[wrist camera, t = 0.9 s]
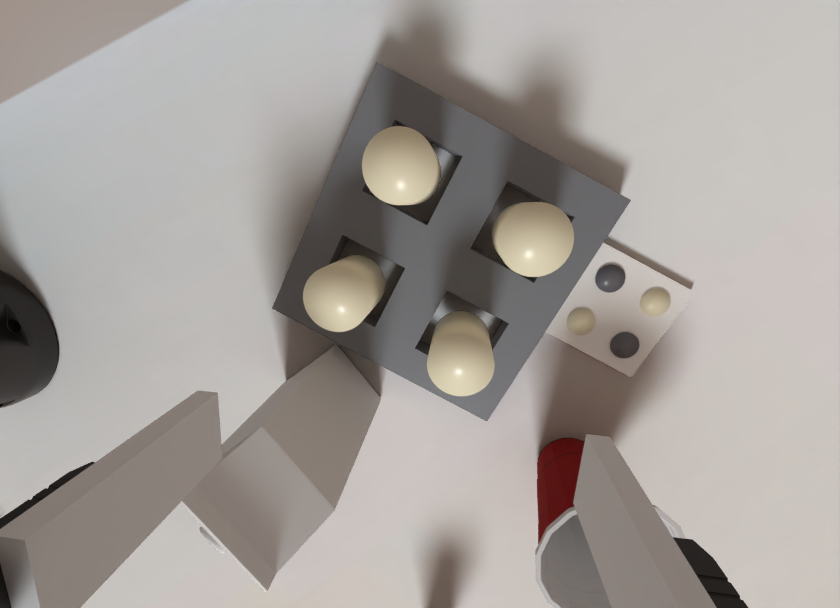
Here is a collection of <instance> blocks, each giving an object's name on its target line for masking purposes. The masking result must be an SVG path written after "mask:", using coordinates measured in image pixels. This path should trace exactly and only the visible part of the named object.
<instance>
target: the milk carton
mask: <svg viewBox="0 0 840 608" xmlns="http://www.w3.org/2000/svg"><path fill="white" fill-rule="evenodd" d="M380 400H381V398H380V397H379V395H378V394H377V393H376V392H375V390H374V389H373V388H372V387H371V386H370V384H369V383H368V382H367V381H366V379H365V378H364V377H363V376H362V375H361V373H360V372H359V371H358V370H357V368H356V367H355V366H354V365H353V364H352V362H351V361H350V360H349V359H348V357H347V356H346V355H345V354H344V353H343V351H342V350H341V349H340V348H339V347H338V346H337V345H335V346H333V347H332V348H331V349H329V350H328V351H326V352H325V353H324V354H322V355H321V356H320V357H318V358H317V359H316V360H314V361H313V362H312V363H310V364H309V365H307V366H306V367H305V368H303V369H302V370H301V371H299V372H298V373H297V374H295V375H294V376H293V377H291V378H290V379H288V380H287V381H286V382H284V383H283V384H282V385H281V386H280V387H279V388H278V389H277V390H276V391H275V392H274V393H273V394H272V395H271V396H270V397H269V398H268V399H267V400H266V401H265V402H264V403H263V404H262V405H261V406H260V407H259V408H258V409H257V410H256V411H255V412H254V413H253V414H252V415H251V416H250V417H249V418H248V419H247V420H246V421H245V422H244V423H243V424H242V425H241V426H240V427H239V428H238V429H237V430H236V431H235V432H234V433H233V434H232V435H231V436H230V437H229V438H228V439H227V440H226V441H225V442H224V443H223V444H222V445H221V446H222V459H221V460H220V461H219V462H218V463H217V464H216V465H215V466H214V467H213V469H212V470H211V471H210V472H209V473H208V474H207V475H206V476H205V477H204V478H203V479H202V480H201V481H200V482H199V483H198V484H197V485H196V486H195V487H194V489H193V490H192V491H191V492H190V493H189V494H188V495H187V496H186V497H185V498H184V499H183V500H182V501H181V502H180V504H181V505H182V506H183V507H184V508H185V509H186V510H187V511H188V512H189V513H190V514H191V515H192V516H193V517H194V519H195V520H196V521H197V522H198V523H199V524H200V525H201V527H200V532H201V533H202V534H203V536H204V537H205V538H206V539H207V540H208V541H209V542H210V543H211V544H212V545H213V547H214V548H215V549H216V550H217V551H218V552H220V553H221V554H224V553H225V552H227V553H228V554H229V555H230V556H231V557H232V559H233V560H234V561H235V562H236V563H237V564H238V565H239V566H240V567H241V568H242V569H243V570H244V571H245V572H246V573H247V574H248V575H249V576H250V577H251V578H252V580H253V581H254V582H255V583H256V584H257V585H258V586H259V587H260V588H261V589H262V590H263V591H267V590H268V589H269V587H270V585H271V583H272V581H273V579H274V577H275V575H276V573H277V572H278V571H279V570H280V569H281V568H282V567H283V566H284V565H285V564H286V563H287V561H288V560H289V559H290V558H291V557H292V556H293V555H294V554H295V553H296V552H297V551H298V550H299V549H300V547H301V546H302V545H303V544H304V543H305V542H306V541H307V540H308V539H309V538H310V537H311V536H312V534H313V533H314V532H315V531H316V530H317V529H318V528H319V527H320V526H321V525H322V524H323V523H324V521H325V520H326V519H327V518H328V517H329V516H330V515H331V514H332V513H333V512H334V511H335V508H336V505H337V503H338V501H339V498H340V496H341V493H342V491H343V489H344V486H345V484H346V482H347V479H348V477H349V474H350V472H351V470H352V467H353V465H354V462H355V460H356V458H357V455H358V453H359V451H360V448H361V446H362V443H363V441H364V439H365V436H366V434H367V431H368V429H369V427H370V424H371V422H372V420H373V417H374V415H375V412H376V410H377V408H378V405H379V403H380Z"/></svg>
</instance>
